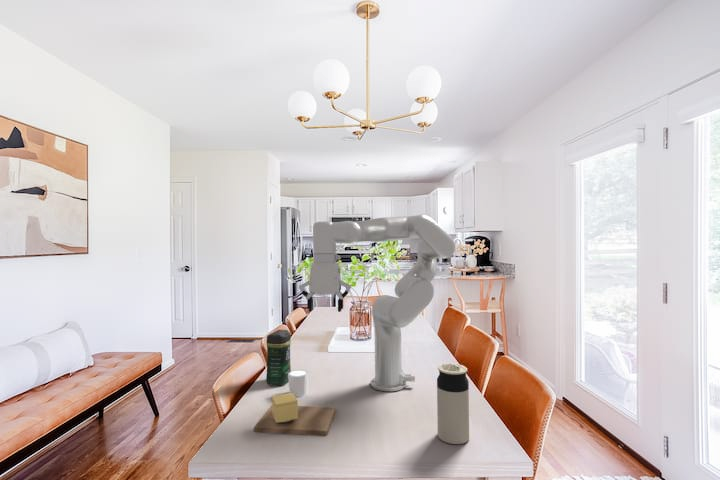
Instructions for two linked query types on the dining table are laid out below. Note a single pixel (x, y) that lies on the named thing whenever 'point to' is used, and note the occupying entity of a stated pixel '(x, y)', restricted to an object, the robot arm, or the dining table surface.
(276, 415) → the tan cardboard cube
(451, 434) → the travel mug
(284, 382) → the coffee jar
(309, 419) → the board
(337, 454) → the dining table surface
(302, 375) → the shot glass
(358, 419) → the dining table surface
